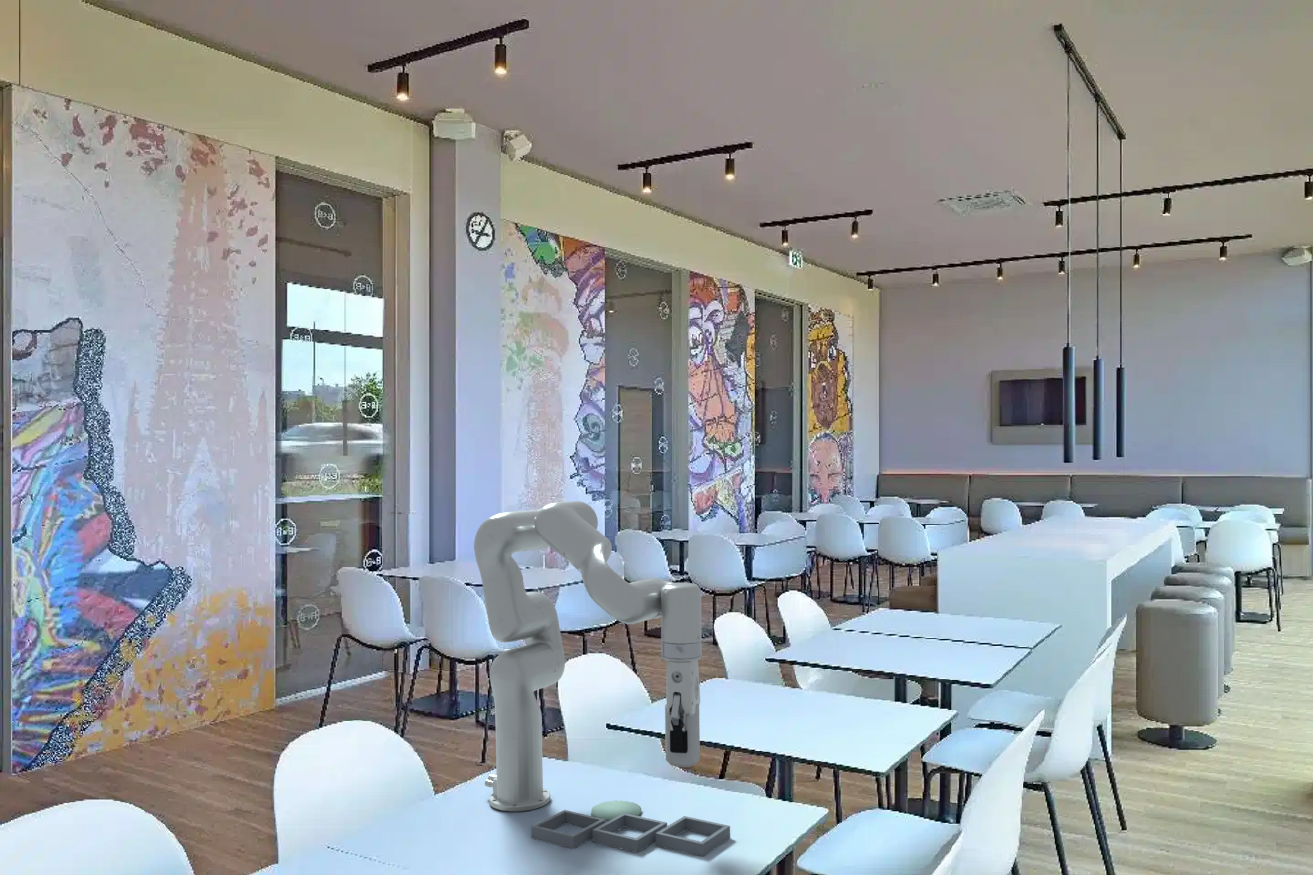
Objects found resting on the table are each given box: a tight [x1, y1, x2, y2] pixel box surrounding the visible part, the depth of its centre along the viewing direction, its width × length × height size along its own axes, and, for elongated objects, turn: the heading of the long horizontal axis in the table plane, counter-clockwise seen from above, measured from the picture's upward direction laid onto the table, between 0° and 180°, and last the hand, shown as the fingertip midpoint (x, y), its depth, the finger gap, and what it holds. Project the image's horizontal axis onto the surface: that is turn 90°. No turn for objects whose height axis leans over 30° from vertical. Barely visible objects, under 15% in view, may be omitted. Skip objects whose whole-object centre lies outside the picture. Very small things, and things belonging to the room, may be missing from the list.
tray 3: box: [655, 815, 731, 857], centre depth 183 cm, size 10×10×2 cm
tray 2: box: [592, 813, 668, 853], centre depth 185 cm, size 10×10×2 cm
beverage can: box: [664, 703, 701, 768], centre depth 185 cm, size 6×6×12 cm
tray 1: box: [530, 809, 607, 850], centre depth 187 cm, size 10×10×2 cm
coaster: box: [590, 800, 642, 822], centre depth 198 cm, size 10×10×1 cm
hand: (682, 745), depth 185 cm, fingers closed on beverage can, 6 cm apart
